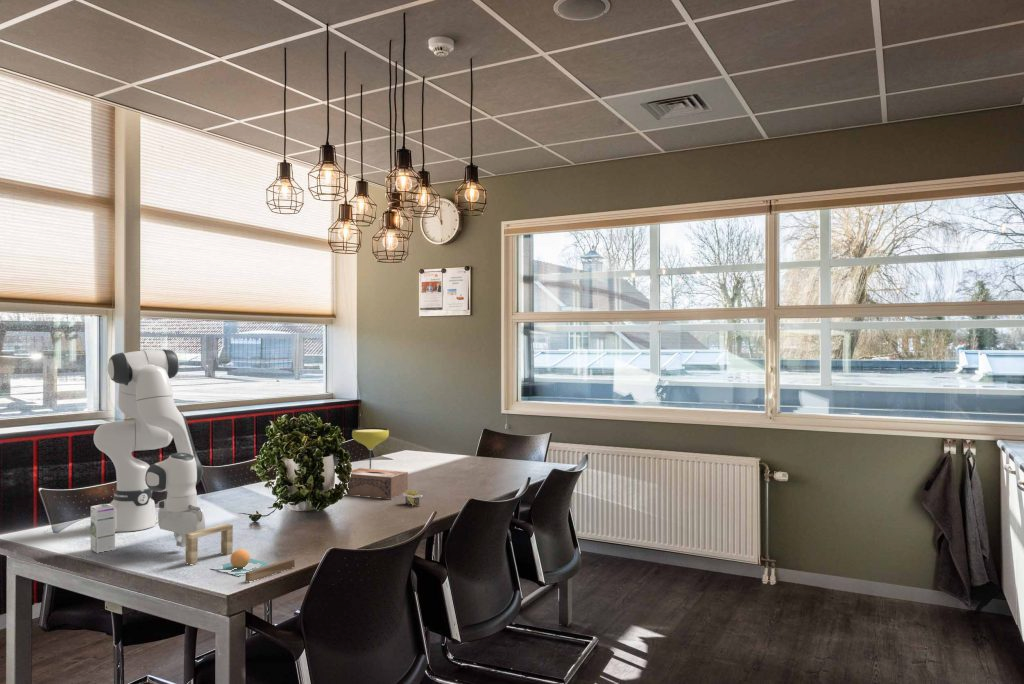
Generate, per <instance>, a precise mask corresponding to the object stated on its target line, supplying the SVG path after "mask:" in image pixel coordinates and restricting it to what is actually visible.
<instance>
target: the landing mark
mask: <svg viewBox="0 0 1024 684" xmlns="http://www.w3.org/2000/svg"><path fill="white" fill-rule="evenodd" d="M249 563H253V564H257V563H260V564H262V565H261V566H260V567H259V568H261V567H264V566H268V563H269V562H266V561H262V560H259V559H256V558H255V559H254V558H251V559H250V560H249ZM271 564H272V563H271ZM271 564H269V565H271ZM221 565H222V566H223V569H214V570H213V571H215V570H232V569H234V568H235V567H234V566H233V565H232V564H231V561H230V562H227V563H224V564H221ZM255 569H258V568H256V567H255V568H252V569H250V570H255ZM250 570H246V569H243V568H237V569H234V570H232V571H231V572H241V571H250ZM226 573H228V572H226ZM226 573H225V574H226ZM239 574H246V573H235V574H233V575H232V576H234V575H239ZM239 577H242V576H241V575H239Z"/></svg>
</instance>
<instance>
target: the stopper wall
mask: <svg viewBox="0 0 1024 684" xmlns="http://www.w3.org/2000/svg"><path fill="white" fill-rule="evenodd" d="M292 567H295V559H294V558H290V557H289V558H287V559H284V560H281V561H278V562H277V561H276V562H274V563H271V565H268V566H264V567H261V568H258V569H255V570H252V571H249V572H246V575H245V582H246V581H253V582H255V581H254V580H256V581H258V580H257V579H259V580H262V579H265V578H268V577H271V576H273V575H272V574H274V575H276V574H275V573H277V574H279V573H278V572H280V573H282V572H281V571H283V572H285V571H284V570H286V571H288V570H287V569H289V570H291V569H290V568H292ZM292 569H293V568H292ZM270 575H271V576H270ZM267 576H268V577H267ZM264 577H265V578H264ZM261 578H262V579H261Z"/></svg>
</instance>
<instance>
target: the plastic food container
mask: <svg viewBox="0 0 1024 684" xmlns="http://www.w3.org/2000/svg"><path fill="white" fill-rule="evenodd" d="M402 496H404V497H405V501H404V502H405V503H410V504H412V505H411V506H413V505H419V506H420V498H421V497H423V494H419V491H417V490H411V489H408V491H406V490H405V492H404V493H403V495H402ZM410 504H409V505H410Z"/></svg>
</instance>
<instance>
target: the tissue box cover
mask: <svg viewBox="0 0 1024 684" xmlns="http://www.w3.org/2000/svg"><path fill="white" fill-rule="evenodd" d="M408 487H409V471H398V470H388V469H375V468H371V469H370V468H363V467H362V468H361V467H360V468H355V469H352V473H351V478H350V482H349V483H348V488H349V495H348V496H350V495H360V496H370V497H381V498H394V497H396V496H399V495H401V494H403V493H404V492H405V490H406V491H408V490H409V489H408ZM360 496H359V497H360ZM370 497H369V498H370ZM399 497H400V496H399ZM394 499H395V498H394Z"/></svg>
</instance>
